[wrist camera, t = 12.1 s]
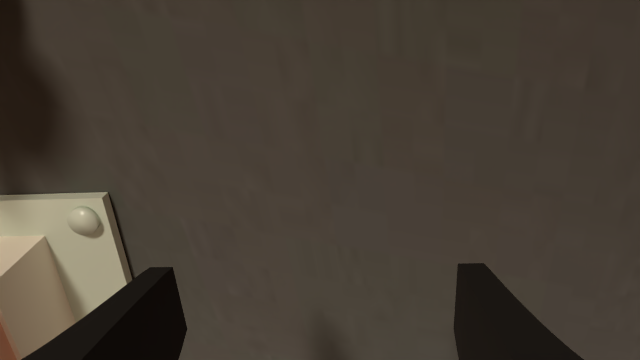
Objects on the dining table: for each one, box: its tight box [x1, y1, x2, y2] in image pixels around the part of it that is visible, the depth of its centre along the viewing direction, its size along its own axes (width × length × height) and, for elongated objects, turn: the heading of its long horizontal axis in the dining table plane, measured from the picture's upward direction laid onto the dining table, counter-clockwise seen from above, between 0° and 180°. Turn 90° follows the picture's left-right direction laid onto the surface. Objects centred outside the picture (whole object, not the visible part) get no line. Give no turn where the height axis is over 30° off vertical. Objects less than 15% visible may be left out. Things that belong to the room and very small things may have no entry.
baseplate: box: [0, 192, 132, 322], centre depth 26 cm, size 12×12×1 cm
